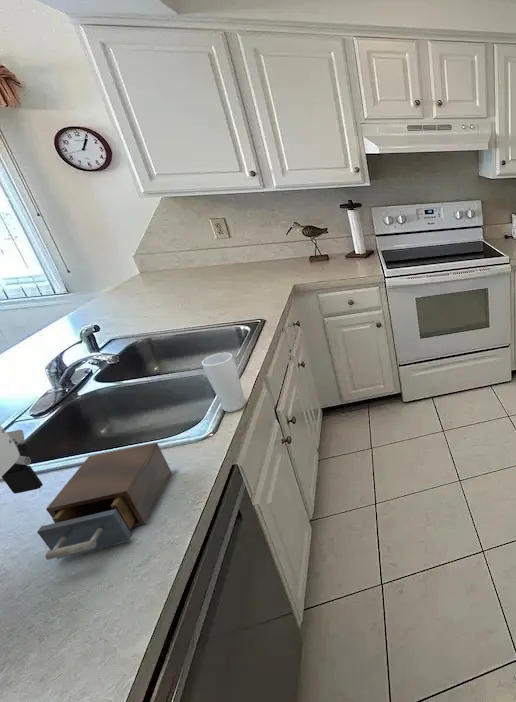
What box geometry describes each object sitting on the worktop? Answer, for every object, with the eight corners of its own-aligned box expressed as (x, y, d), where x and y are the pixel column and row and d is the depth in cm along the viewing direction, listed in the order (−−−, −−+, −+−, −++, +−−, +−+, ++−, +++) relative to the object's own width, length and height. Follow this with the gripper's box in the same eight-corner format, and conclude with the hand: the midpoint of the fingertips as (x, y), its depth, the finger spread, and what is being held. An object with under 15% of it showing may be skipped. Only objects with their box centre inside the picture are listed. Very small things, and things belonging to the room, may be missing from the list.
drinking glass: (254, 402, 112) (238, 355, 106) (231, 417, 106) (212, 367, 100) (238, 397, 115) (221, 350, 108) (214, 411, 109) (195, 362, 103)
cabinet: (145, 524, 77) (126, 491, 74) (69, 542, 74) (45, 509, 70) (172, 473, 89) (157, 442, 85) (107, 487, 86) (89, 456, 82)
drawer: (118, 560, 70) (100, 533, 67) (42, 580, 67) (20, 552, 64) (157, 489, 84) (144, 463, 81) (95, 503, 81) (79, 477, 78)
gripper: (-53, 386, 56) (14, 478, 64) (-196, 475, 41) (-86, 582, 49) (16, 375, 58) (74, 465, 66) (-96, 456, 43) (-5, 561, 51)
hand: (6, 515), depth 57 cm, fingers open, 9 cm apart
